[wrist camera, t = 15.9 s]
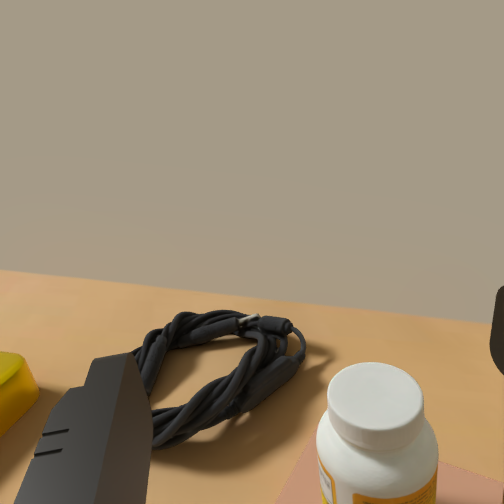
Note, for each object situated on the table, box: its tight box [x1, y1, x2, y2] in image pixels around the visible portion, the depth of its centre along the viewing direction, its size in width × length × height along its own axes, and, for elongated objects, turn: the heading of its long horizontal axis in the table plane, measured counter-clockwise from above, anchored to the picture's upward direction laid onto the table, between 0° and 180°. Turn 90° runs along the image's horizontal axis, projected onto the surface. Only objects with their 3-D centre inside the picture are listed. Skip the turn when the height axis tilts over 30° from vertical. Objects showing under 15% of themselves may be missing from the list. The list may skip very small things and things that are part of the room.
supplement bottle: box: [316, 362, 438, 504], centre depth 20 cm, size 5×5×10 cm
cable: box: [131, 310, 306, 450], centre depth 35 cm, size 17×14×4 cm
